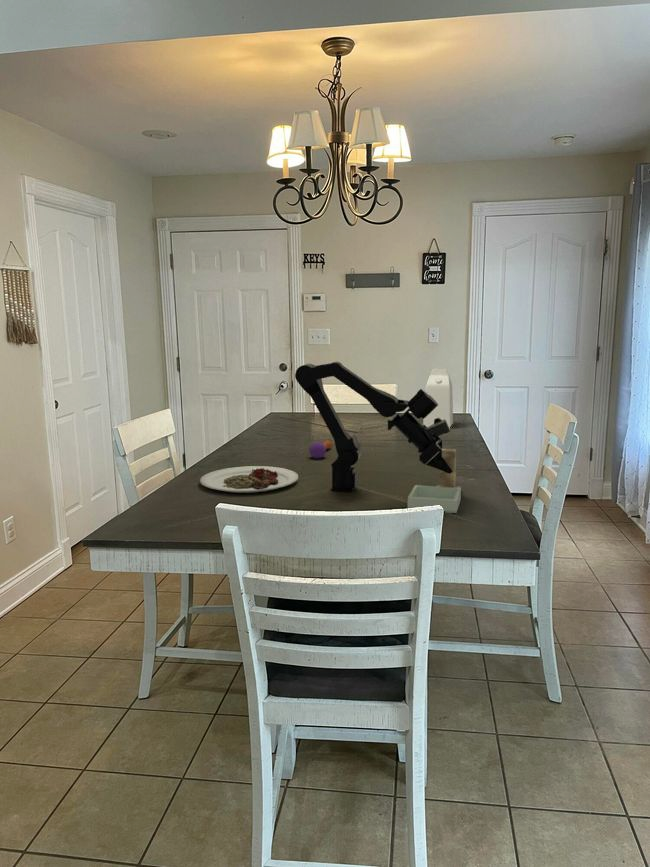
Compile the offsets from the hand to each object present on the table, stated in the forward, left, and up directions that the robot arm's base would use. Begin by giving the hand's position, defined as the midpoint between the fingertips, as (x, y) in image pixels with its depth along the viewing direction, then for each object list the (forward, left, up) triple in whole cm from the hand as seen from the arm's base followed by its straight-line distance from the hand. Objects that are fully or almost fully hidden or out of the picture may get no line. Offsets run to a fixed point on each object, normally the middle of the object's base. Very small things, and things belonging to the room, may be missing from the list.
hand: (451, 468), depth 186 cm
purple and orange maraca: (-51, +42, -8) cm, 67 cm away
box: (-3, -13, -7) cm, 15 cm away
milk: (-17, +111, -7) cm, 112 cm away
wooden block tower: (-1, 0, -7) cm, 7 cm away
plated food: (-61, -3, -8) cm, 61 cm away
